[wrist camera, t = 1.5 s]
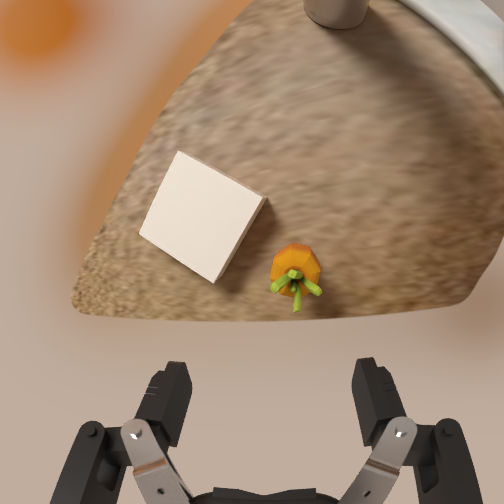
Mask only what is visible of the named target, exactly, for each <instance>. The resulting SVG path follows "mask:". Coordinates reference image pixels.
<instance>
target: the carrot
mask: <svg viewBox="0 0 504 504" xmlns="http://www.w3.org/2000/svg"><path fill="white" fill-rule="evenodd" d="M320 273H321V266H320V263H319V261H318V259H317V258H316V256H315V254H314V253H313V251H312V250H311V248H310V246H306V245H302V244H297V243H292V244H290V245H289V246H287V247H285V248H284V249H282V250H281V251H279V252H278V253H277V254H276V256H275V257H274V260H273V264H272V269H271V274H270V279H271V281H272V282H273V283H272V284H271V286H270V289H271V290H272V292H274V293H275V294H276V293H277V292H278V291H279V293H280V294H281V295H285V296H289V297H293V298H294V305H293V311H294V312H295V313H296V312H299V311H300V310H301V298H302V297H303V296H305V295H307V294H308V293H310V292H311V293H313V294H314V295H316V296H319V295H321V293H322V290H321V288H320V287H319V286H317V285H318V281H319V277H320Z"/></svg>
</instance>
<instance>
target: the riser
mask: <svg viewBox="0 0 504 504" xmlns="http://www.w3.org/2000/svg"><path fill="white" fill-rule="evenodd" d="M266 199H267V197H265V196H264V195H262V194H260V193H259V192H257V191H255V190H253V189H252V188H250V187H248V186H247V185H245V184H243V183H241V182H240V181H238V180H236V179H234V178H232V177H231V176H229V175H227V174H225V173H223V172H222V171H220V170H218V169H216V168H214V167H213V166H211V165H209V164H207V163H205V162H203V161H202V160H200V159H198V158H196V157H194V156H192V155H190V154H187V153H184V152H181V151H178V152H177V154H176V156H175V158H174V160H173V162H172V164H171V166H170V168H169V170H168V172H167V174H166V176H165V178H164V180H163V182H162V184H161V186H160V188H159V190H158V192H157V194H156V196H155V199H154V201H153V203H152V205H151V207H150V210H149V212H148V214H147V216H146V219H145V221H144V223H143V225H142V228H141V230H140V232H139V234H140V235H142V236H143V237H144V238H146V239H147V240H149V241H150V242H152V243H153V244H155V245H156V246H158V247H159V248H160V249H162V250H163V251H165V252H166V253H168V254H169V255H171V256H172V257H174V258H175V259H177V260H178V261H180V262H181V263H183V264H184V265H186V266H187V267H189V268H190V269H192V270H193V271H195V272H196V273H198V274H200V275H201V276H203V277H204V278H206V279H207V280H209V281H210V282H212V283H215V282H216V281H217V280H218V279H219V278H220V277H221V276H222V275H223V273H224V272H225V270H226V268H227V266H228V265H229V263H230V261H231V259H232V258H233V256H234V254H235V253H236V251H237V249H238V247H239V246H240V244H241V242H242V240H243V239H244V237H245V235H246V233H247V232H248V230H249V228H250V227H251V225H252V223H253V221H254V220H255V218H256V216H257V214H258V213H259V211H260V209H261V208H262V206H263V204H264V203H265V201H266Z"/></svg>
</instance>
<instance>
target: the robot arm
mask: <svg viewBox="0 0 504 504" xmlns="http://www.w3.org/2000/svg"><path fill="white" fill-rule="evenodd" d="M369 1H370V0H303V2H304V9H305V12H306V13H307V15H308V16H309V17H310V18H311V19H312V20H314V21H315V22H316V23H318V24H320V25H323V26H325V27H328V28H333V29H350V28H354V27H356V26H358V25H359V24H361V23H362V21H363V20H364V18H365V14H366V11H367V7H368V4H369ZM148 386H149V387H148V388H147V390H146V394H145V395H144V397H143V399H142V402H141V404H140V407H139V409H138V411H137V413H136V416H135V418H134V419H132V420H129V421H127V422H126V423H125V424H124V425H123V426H122V427H111V428H104V427H103V425H102V424H101V423H99V422H97V421H89V422H86V423H85V424H83V425H82V426H81V428H80V429H79V432H78V434H77V436H76V439H75V441H74V443H73V445H72V448H71V450H70V453H69V455H68V457H67V460H66V462H65V465H64V467H63V470H62V472H61V474H60V477H59V480H58V482H57V485H56V488H55V490H54V493H53V496H52V499H51V501H50V504H116V503H117V500H118V496H119V492H120V488H121V484H122V481H123V478H124V474H125V471H126V467H127V466H133V467H134V471H133V475H134V478H135V480H136V482H137V485H138V487H139V489H140V491H141V493H142V495H143V497H144V499H145V501H146V503H147V504H383V502H384V501H385V499H386V498H387V496H388V494H389V492H390V490H391V489H392V487H393V485H394V484H395V482H396V480H397V478H398V476H399V470H400V468H401V466H413V469H414V474H415V479H416V485H417V491H418V498H419V504H483V501H482V497H481V493H480V488H479V484H478V480H477V477H476V473H475V469H474V466H473V462H472V459H471V456H470V453H469V449H468V446H467V443H466V440H465V437H464V434H463V432H462V429H461V426H460V424H459V423H458V422H457V421H456V420H453V419H450V418H446V419H442V420H440V421H439V422H438V423H437V424H436V425H419V424H416V423H415V422H414V421H413V420H412V419H410V418H408V417H407V416H406V413H405V410H404V408H403V405H402V402H401V399H400V397H399V394H398V391H397V390H396V386H395V384H394V381H393V378H392V376H391V373H390V372H389V371H388V370H387V369H386V368H385V367H377V365H376V362H375V360H374V358H373V357H370V358H361V359H357V361H356V366H355V370H354V374H353V378H352V393H353V397H354V401H355V406H356V410H357V415H358V419H359V424H360V429H361V433H362V438H363V443H364V446H365V447H366V446H372V451H373V452H372V453H371V455H370V457H369V458H368V460H367V461H366V463H365V465H364V466H363V468H362V469H361V471H360V472H359V474H358V475H357V477H356V478H355V480H354V482H353V483H352V484H351V486H350V487H349V488H348V490H347V491H346V493H345V494H344V495H343V497H342V498H341V499H340V501H339V500H337V499H336V498H333V497H331V496H328V495H325V494H321V493H316V488H311V489H297V490H287V491H283V492H279V493H275V494H270V495H259V494H255V493H251V492H247V491H243V490H239V489H228V488H216V487H214V489H213V492H209V493H205V494H201V495H198V496H196V497H194V496H193V495H192V493H191V492H190V490H189V489H188V487H187V486H186V485H185V483H184V482H183V480H182V478H181V477H180V475H179V473H178V471H177V470H176V468H175V466H174V464H173V463H172V461H171V459H170V457H169V455H168V454H167V451H168V448H169V446H172V447H177V444H178V440H179V437H180V433H181V429H182V426H183V423H184V419H185V415H186V412H187V408H188V405H189V401H190V398H191V394H192V382H191V379H190V376H189V373H188V370H187V366H186V364H185V362H174V361H169V362H168V364H167V366H166V368H165V371H158V372H157V373H156V374H155V375H154V376H153V377H152V379H151V381H150V383H149V385H148Z"/></svg>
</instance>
